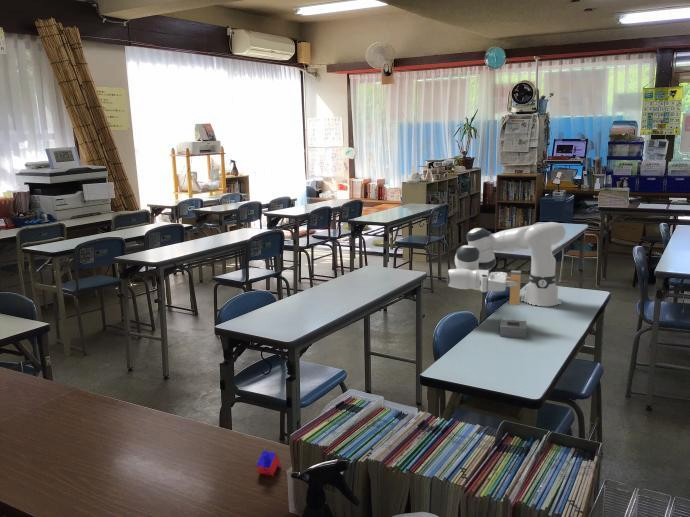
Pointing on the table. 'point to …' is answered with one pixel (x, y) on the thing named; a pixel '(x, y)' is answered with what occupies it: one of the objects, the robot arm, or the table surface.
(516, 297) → the plug
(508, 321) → the grey square block
